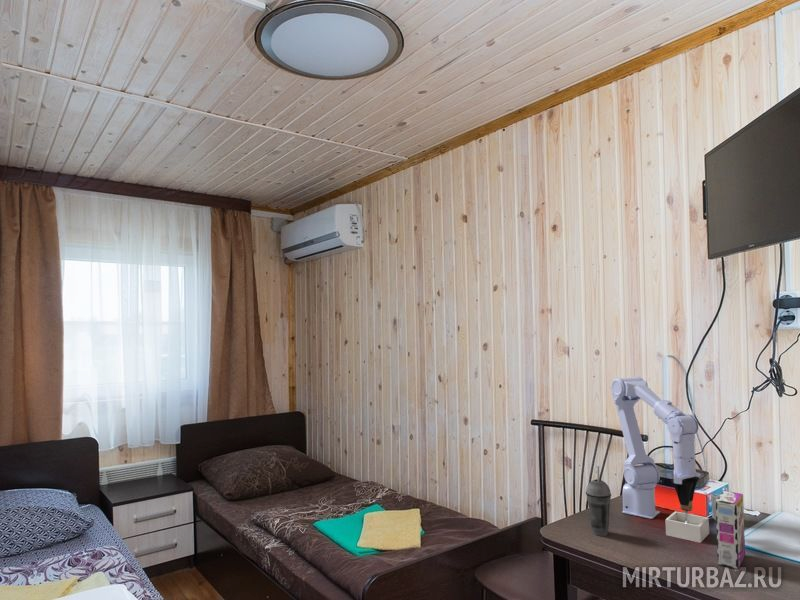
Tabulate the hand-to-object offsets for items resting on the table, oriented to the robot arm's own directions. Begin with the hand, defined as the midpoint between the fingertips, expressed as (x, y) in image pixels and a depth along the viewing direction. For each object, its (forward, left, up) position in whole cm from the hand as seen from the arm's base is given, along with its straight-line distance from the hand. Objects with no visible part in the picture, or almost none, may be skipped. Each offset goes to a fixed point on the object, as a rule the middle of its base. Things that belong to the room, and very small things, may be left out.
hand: (686, 503), depth 164 cm
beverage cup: (-20, -15, -9) cm, 27 cm away
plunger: (0, 0, -7) cm, 7 cm away
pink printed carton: (+14, -12, -9) cm, 21 cm away
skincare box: (+6, +19, -9) cm, 22 cm away
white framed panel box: (0, 0, -9) cm, 9 cm away
